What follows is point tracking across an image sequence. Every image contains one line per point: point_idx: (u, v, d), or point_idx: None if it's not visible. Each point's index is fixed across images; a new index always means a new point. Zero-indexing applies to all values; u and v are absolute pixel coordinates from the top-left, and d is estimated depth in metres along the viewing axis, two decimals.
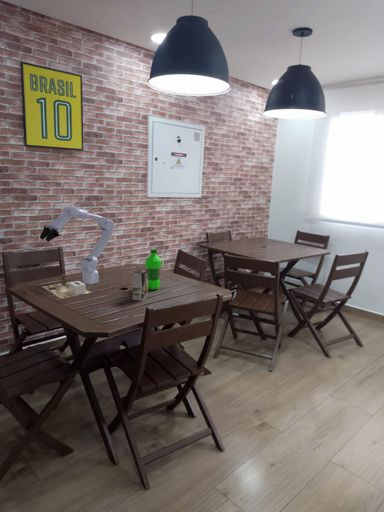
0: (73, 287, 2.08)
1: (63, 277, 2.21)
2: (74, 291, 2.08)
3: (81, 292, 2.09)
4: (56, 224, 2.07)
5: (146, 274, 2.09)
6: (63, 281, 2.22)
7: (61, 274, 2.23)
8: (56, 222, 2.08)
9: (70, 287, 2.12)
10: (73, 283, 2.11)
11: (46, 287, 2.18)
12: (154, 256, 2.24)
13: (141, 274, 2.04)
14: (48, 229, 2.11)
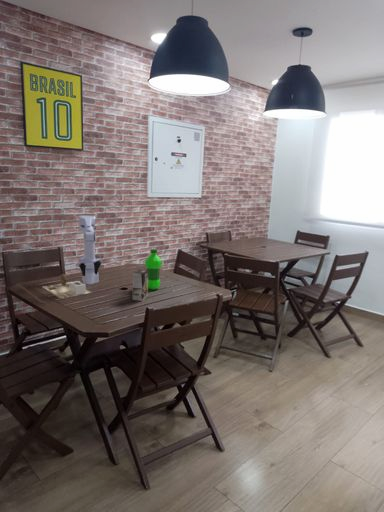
0: (73, 287, 2.08)
1: (63, 277, 2.21)
2: (74, 291, 2.08)
3: (81, 292, 2.09)
4: (94, 257, 2.13)
5: (146, 274, 2.09)
6: (63, 281, 2.22)
7: (61, 274, 2.23)
8: (94, 256, 2.12)
9: (70, 287, 2.12)
10: (73, 283, 2.11)
11: (46, 287, 2.18)
12: (154, 256, 2.24)
13: (141, 274, 2.04)
14: None
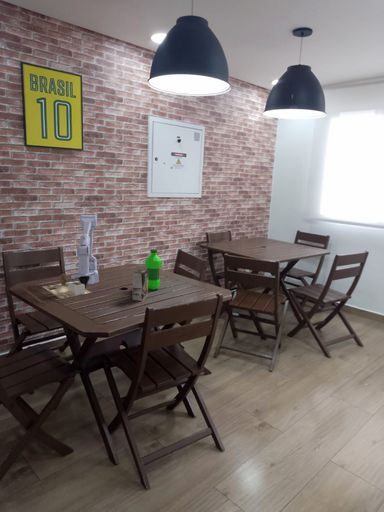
0: (72, 287, 2.08)
1: (63, 277, 2.21)
2: (73, 291, 2.08)
3: (80, 292, 2.09)
4: (88, 271, 2.13)
5: (146, 274, 2.09)
6: (63, 281, 2.22)
7: (61, 274, 2.23)
8: (88, 269, 2.12)
9: (69, 287, 2.11)
10: (72, 283, 2.11)
11: (46, 287, 2.18)
12: (154, 256, 2.24)
13: (141, 274, 2.04)
14: None
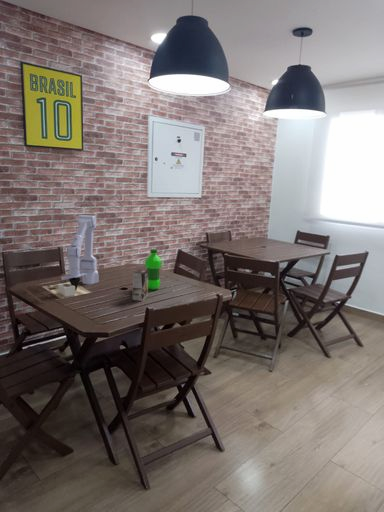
0: (62, 289, 2.04)
1: None
2: (63, 293, 2.04)
3: (70, 294, 2.05)
4: (79, 272, 2.09)
5: (146, 274, 2.09)
6: (63, 281, 2.22)
7: (61, 274, 2.23)
8: (78, 271, 2.08)
9: (59, 289, 2.07)
10: (62, 285, 2.07)
11: (46, 287, 2.18)
12: (154, 256, 2.24)
13: (141, 274, 2.04)
14: None
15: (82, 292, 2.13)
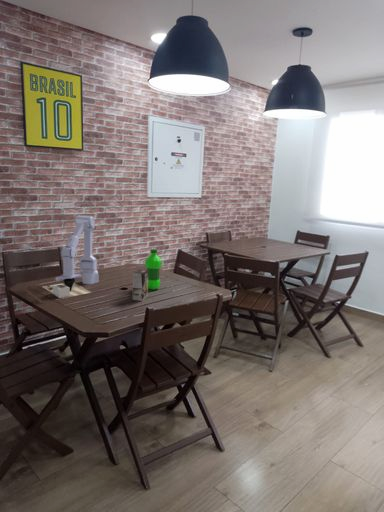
0: (57, 290, 2.02)
1: None
2: (57, 294, 2.02)
3: (65, 295, 2.03)
4: (73, 273, 2.07)
5: (146, 274, 2.09)
6: (63, 281, 2.22)
7: (61, 274, 2.23)
8: (73, 272, 2.06)
9: (53, 290, 2.05)
10: (56, 286, 2.04)
11: (46, 287, 2.18)
12: (154, 256, 2.24)
13: (141, 274, 2.04)
14: None
15: (82, 292, 2.13)
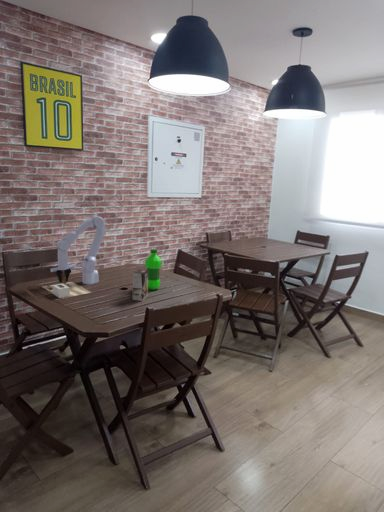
0: (57, 290, 2.02)
1: (63, 277, 2.21)
2: (57, 294, 2.02)
3: (65, 295, 2.03)
4: (67, 265, 2.21)
5: (146, 274, 2.09)
6: (63, 281, 2.22)
7: None
8: (67, 263, 2.20)
9: (53, 290, 2.05)
10: (56, 286, 2.04)
11: (46, 287, 2.18)
12: (154, 256, 2.24)
13: (141, 274, 2.04)
14: None
15: (82, 292, 2.13)
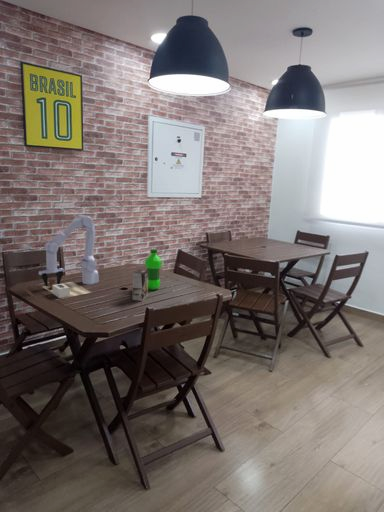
0: (57, 290, 2.02)
1: (52, 282, 2.14)
2: (57, 294, 2.02)
3: (65, 295, 2.03)
4: (56, 267, 2.14)
5: (146, 274, 2.09)
6: (52, 286, 2.15)
7: (50, 279, 2.16)
8: (56, 266, 2.13)
9: (53, 290, 2.05)
10: (56, 286, 2.04)
11: (46, 287, 2.18)
12: (154, 256, 2.24)
13: (141, 274, 2.04)
14: None
15: (82, 292, 2.13)
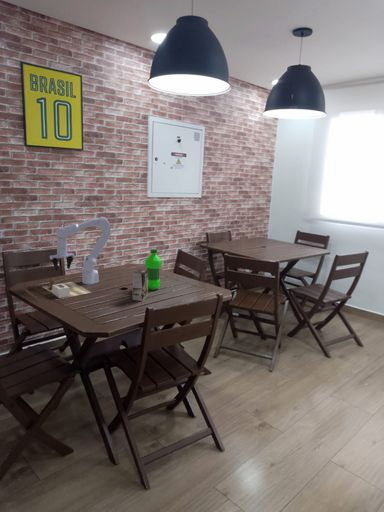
0: (57, 290, 2.02)
1: (52, 282, 2.14)
2: (57, 294, 2.02)
3: (65, 295, 2.03)
4: (66, 252, 2.23)
5: (146, 274, 2.09)
6: (52, 286, 2.15)
7: (50, 279, 2.16)
8: (66, 251, 2.22)
9: (53, 290, 2.05)
10: (56, 286, 2.04)
11: (46, 287, 2.18)
12: (154, 256, 2.24)
13: (141, 274, 2.04)
14: None
15: (82, 292, 2.13)
